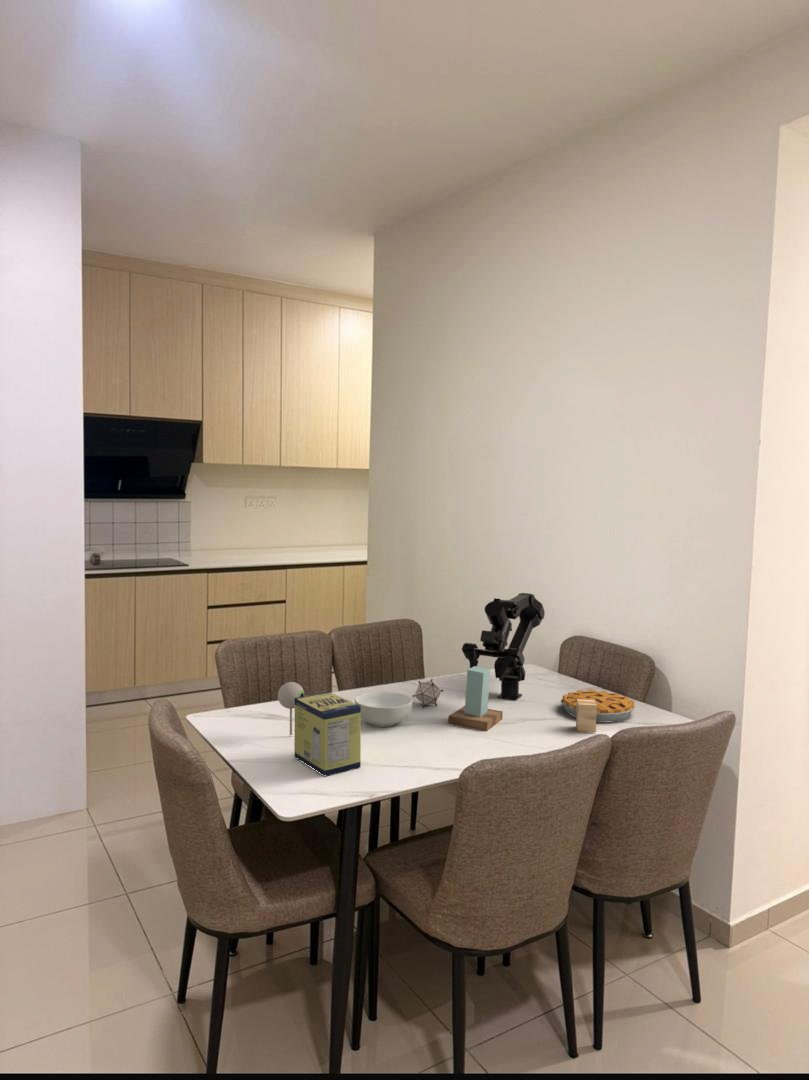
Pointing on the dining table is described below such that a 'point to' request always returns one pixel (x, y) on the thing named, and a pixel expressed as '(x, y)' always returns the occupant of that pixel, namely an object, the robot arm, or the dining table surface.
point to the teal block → (477, 691)
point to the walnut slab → (475, 719)
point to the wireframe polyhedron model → (427, 693)
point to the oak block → (586, 715)
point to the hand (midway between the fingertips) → (485, 678)
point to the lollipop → (289, 697)
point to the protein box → (327, 732)
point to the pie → (601, 704)
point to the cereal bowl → (384, 707)
